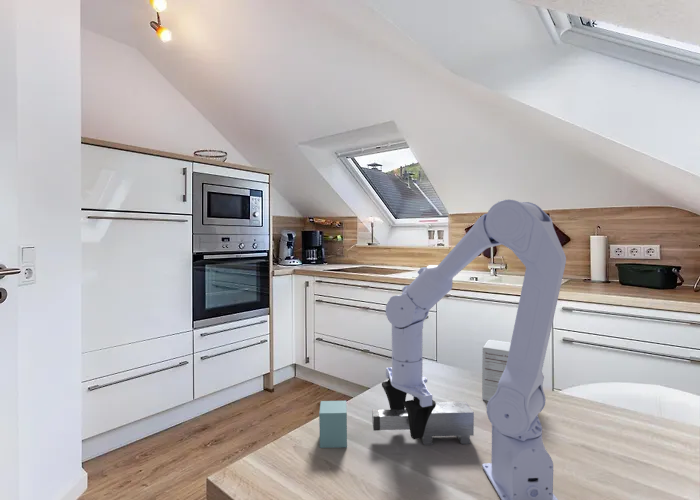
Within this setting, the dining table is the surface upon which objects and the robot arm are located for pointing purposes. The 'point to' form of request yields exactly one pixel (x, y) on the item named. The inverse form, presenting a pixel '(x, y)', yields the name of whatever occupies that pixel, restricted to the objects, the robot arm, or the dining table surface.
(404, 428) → the extension bar
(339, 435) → the socket
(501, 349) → the supplement box
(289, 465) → the dining table surface
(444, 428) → the sleeve
